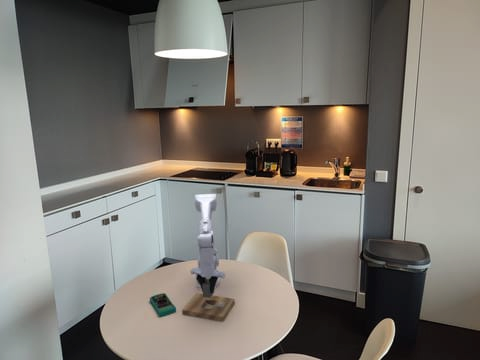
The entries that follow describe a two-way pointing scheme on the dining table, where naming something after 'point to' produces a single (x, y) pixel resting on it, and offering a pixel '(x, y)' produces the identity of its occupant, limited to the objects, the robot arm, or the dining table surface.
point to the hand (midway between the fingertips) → (208, 291)
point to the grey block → (206, 289)
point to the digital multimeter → (162, 304)
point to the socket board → (216, 313)
